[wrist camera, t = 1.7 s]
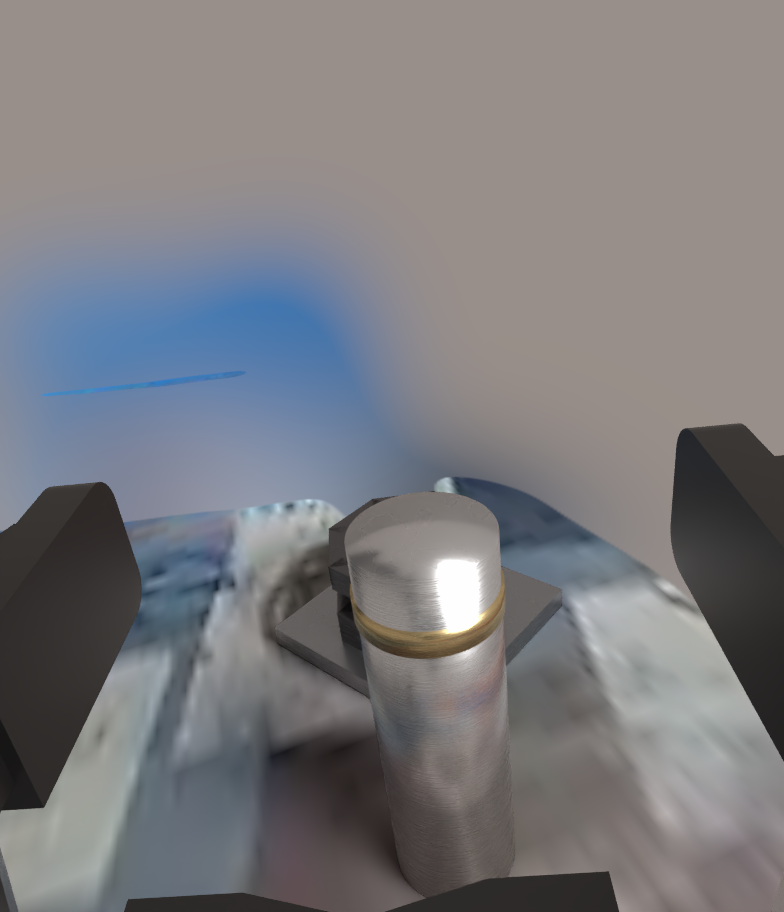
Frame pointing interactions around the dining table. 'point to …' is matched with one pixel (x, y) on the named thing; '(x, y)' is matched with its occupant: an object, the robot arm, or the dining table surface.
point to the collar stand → (338, 640)
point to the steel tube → (437, 682)
